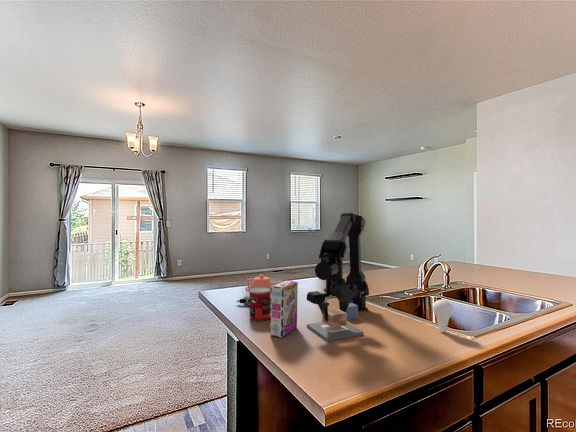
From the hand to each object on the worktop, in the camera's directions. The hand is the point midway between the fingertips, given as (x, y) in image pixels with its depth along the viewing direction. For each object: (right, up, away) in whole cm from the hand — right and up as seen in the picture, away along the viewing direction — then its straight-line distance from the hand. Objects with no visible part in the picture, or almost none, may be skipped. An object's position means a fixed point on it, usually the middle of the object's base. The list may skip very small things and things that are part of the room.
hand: (334, 320), depth 107 cm
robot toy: (-30, -4, +31) cm, 43 cm away
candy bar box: (-17, -4, -1) cm, 18 cm away
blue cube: (+8, -4, +14) cm, 17 cm away
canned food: (-27, -4, +13) cm, 30 cm away
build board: (0, -4, 0) cm, 4 cm away
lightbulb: (+37, -4, -1) cm, 37 cm away
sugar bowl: (-30, -4, +48) cm, 57 cm away
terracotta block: (0, -1, 0) cm, 1 cm away
